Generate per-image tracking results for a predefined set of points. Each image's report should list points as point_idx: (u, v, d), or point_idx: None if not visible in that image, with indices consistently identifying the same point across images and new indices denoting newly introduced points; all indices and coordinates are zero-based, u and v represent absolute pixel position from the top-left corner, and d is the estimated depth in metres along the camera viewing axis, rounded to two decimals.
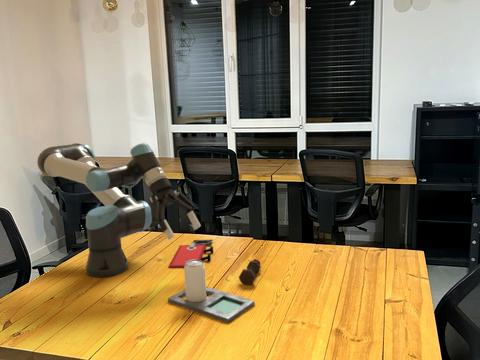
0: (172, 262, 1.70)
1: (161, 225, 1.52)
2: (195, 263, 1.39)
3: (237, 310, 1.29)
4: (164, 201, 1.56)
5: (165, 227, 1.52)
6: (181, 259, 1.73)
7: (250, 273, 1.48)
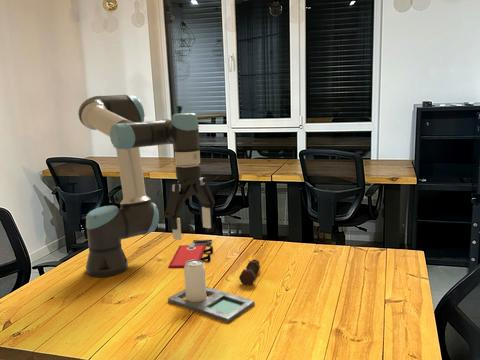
0: (172, 262, 1.70)
1: (172, 223, 1.29)
2: (195, 263, 1.39)
3: (237, 310, 1.29)
4: (186, 195, 1.31)
5: (175, 227, 1.30)
6: (181, 259, 1.73)
7: (250, 273, 1.48)
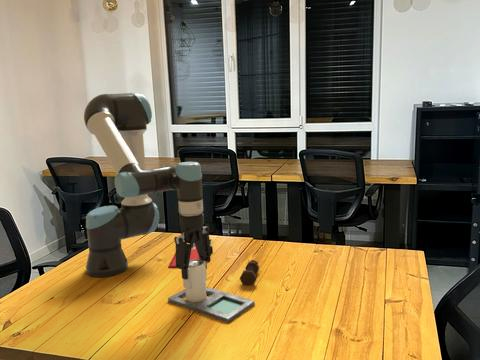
0: (172, 262, 1.70)
1: (183, 273, 1.35)
2: (195, 263, 1.39)
3: (237, 310, 1.29)
4: (191, 244, 1.34)
5: (186, 277, 1.35)
6: None
7: (251, 274, 1.48)
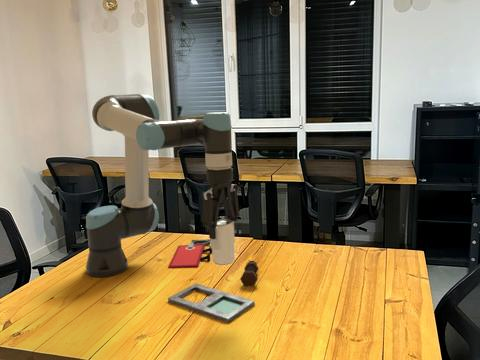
0: (171, 262, 1.70)
1: (211, 232, 1.25)
2: (223, 222, 1.29)
3: (237, 310, 1.29)
4: (220, 200, 1.24)
5: (214, 236, 1.25)
6: (180, 259, 1.73)
7: (252, 274, 1.47)
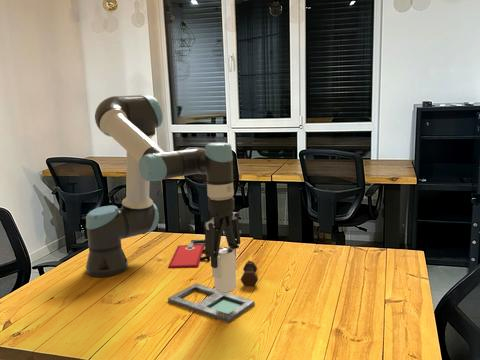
0: (171, 262, 1.70)
1: (213, 261, 1.26)
2: (224, 251, 1.30)
3: (237, 310, 1.29)
4: (221, 230, 1.26)
5: (216, 265, 1.27)
6: (180, 259, 1.73)
7: (253, 275, 1.47)
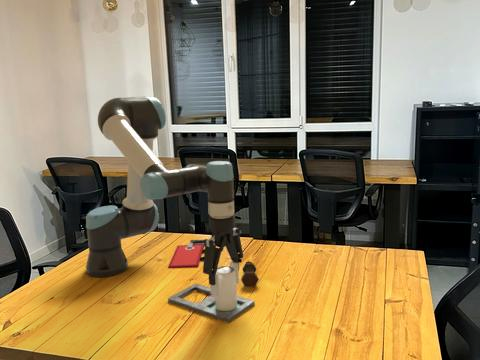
0: (171, 262, 1.70)
1: (210, 278, 1.26)
2: (225, 270, 1.32)
3: (237, 310, 1.29)
4: (221, 248, 1.27)
5: (214, 282, 1.27)
6: (180, 259, 1.73)
7: (253, 275, 1.47)
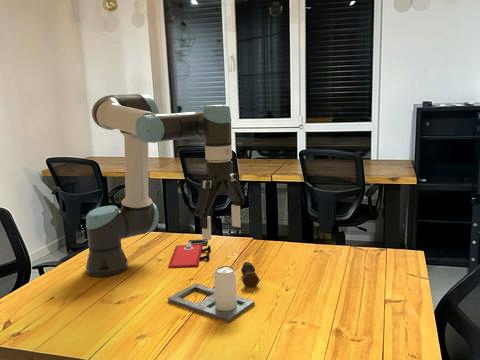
0: (171, 262, 1.70)
1: (202, 221, 1.21)
2: (225, 270, 1.32)
3: (237, 310, 1.29)
4: (217, 192, 1.23)
5: (206, 226, 1.22)
6: (180, 259, 1.73)
7: (254, 275, 1.46)
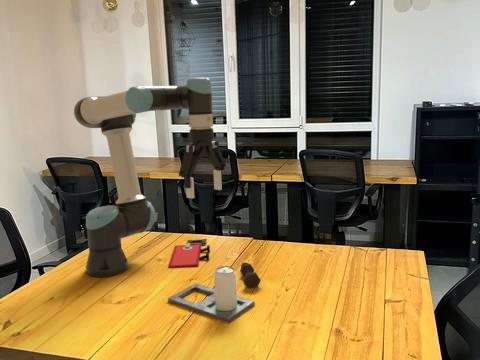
0: (171, 262, 1.70)
1: (186, 182, 1.36)
2: (225, 270, 1.32)
3: (237, 310, 1.29)
4: (199, 155, 1.38)
5: (189, 185, 1.37)
6: (179, 259, 1.73)
7: (256, 276, 1.46)
